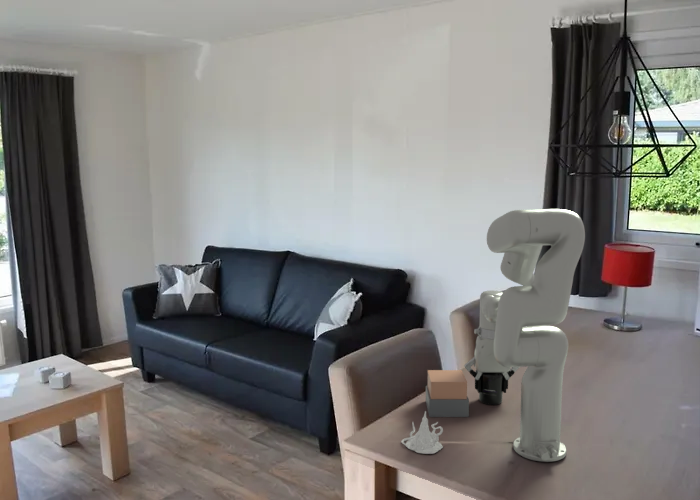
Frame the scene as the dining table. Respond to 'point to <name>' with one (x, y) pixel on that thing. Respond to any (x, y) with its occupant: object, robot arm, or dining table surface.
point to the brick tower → (447, 394)
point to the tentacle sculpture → (424, 438)
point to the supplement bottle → (491, 388)
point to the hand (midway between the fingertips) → (491, 390)
